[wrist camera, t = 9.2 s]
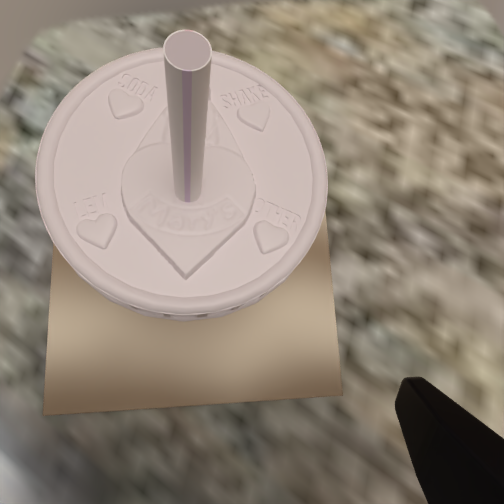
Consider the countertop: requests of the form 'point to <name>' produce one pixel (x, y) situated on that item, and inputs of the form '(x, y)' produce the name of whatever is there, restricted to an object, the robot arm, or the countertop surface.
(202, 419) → the countertop surface
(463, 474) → the robot arm
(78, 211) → the smoothie
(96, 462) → the countertop surface
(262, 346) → the plinth
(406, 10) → the countertop surface
